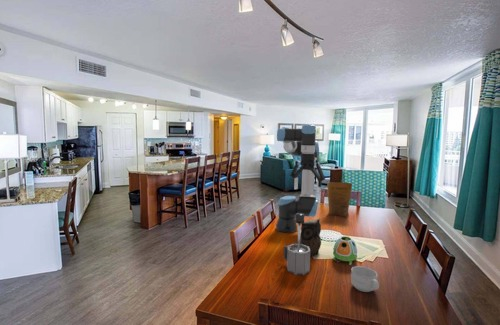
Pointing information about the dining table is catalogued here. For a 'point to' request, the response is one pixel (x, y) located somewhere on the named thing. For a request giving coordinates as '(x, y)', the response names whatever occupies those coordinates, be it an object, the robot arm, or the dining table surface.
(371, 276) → the teacup
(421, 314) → the dining table surface
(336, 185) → the pancake mix bag
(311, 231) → the owl
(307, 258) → the press carafe
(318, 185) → the robot arm
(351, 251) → the turtle holder
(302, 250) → the plunger
